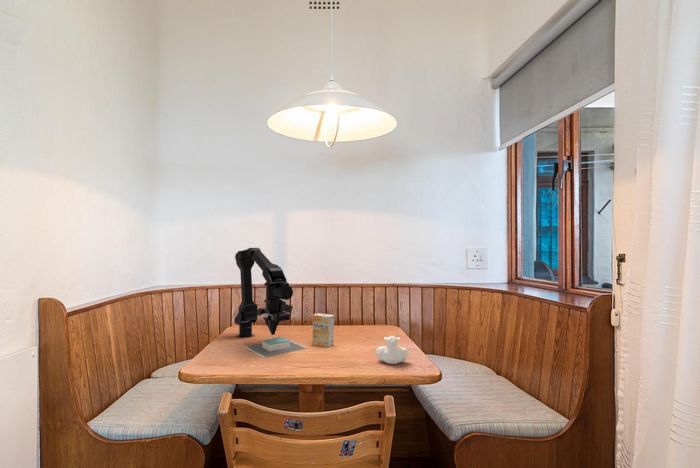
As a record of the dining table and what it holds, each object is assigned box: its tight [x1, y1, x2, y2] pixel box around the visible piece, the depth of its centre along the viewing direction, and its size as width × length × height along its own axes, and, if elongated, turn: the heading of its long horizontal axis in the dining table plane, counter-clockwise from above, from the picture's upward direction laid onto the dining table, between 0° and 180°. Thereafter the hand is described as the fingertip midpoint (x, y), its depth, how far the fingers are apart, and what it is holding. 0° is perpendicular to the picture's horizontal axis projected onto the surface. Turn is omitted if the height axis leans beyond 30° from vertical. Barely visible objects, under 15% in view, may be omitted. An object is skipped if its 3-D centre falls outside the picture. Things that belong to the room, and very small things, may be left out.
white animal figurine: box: [375, 335, 409, 365], centre depth 136 cm, size 12×8×11 cm
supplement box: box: [311, 312, 335, 348], centre depth 159 cm, size 8×5×13 cm, turn 65°
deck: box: [261, 336, 291, 351], centre depth 154 cm, size 3×9×7 cm
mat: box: [244, 340, 309, 359], centre depth 154 cm, size 18×20×1 cm
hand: (273, 334), depth 156 cm, fingers closed
